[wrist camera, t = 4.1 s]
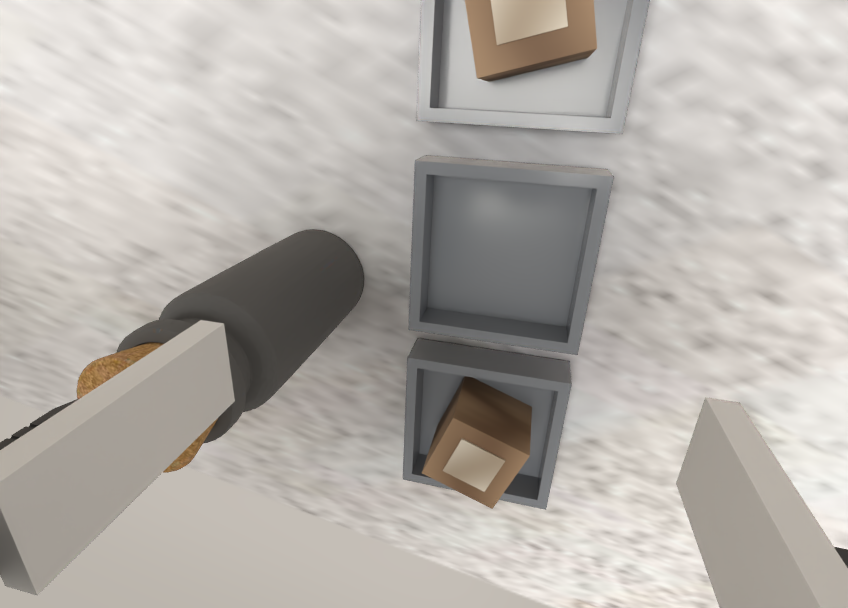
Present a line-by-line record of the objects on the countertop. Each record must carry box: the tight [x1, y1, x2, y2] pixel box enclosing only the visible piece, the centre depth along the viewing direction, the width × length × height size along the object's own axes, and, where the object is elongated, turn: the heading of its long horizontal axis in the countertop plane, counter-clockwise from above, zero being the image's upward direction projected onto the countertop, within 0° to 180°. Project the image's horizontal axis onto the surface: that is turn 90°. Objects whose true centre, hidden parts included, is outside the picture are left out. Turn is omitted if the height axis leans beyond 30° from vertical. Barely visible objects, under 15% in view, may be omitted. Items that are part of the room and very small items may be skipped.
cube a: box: [465, 0, 597, 82], centre depth 19 cm, size 4×4×5 cm
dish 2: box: [409, 155, 614, 355], centre depth 25 cm, size 9×9×2 cm
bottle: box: [77, 230, 363, 472], centre depth 23 cm, size 6×6×15 cm
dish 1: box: [417, 0, 650, 134], centre depth 21 cm, size 9×9×2 cm
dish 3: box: [403, 338, 572, 510], centre depth 30 cm, size 9×9×2 cm
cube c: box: [422, 376, 532, 509], centre depth 28 cm, size 4×4×5 cm
